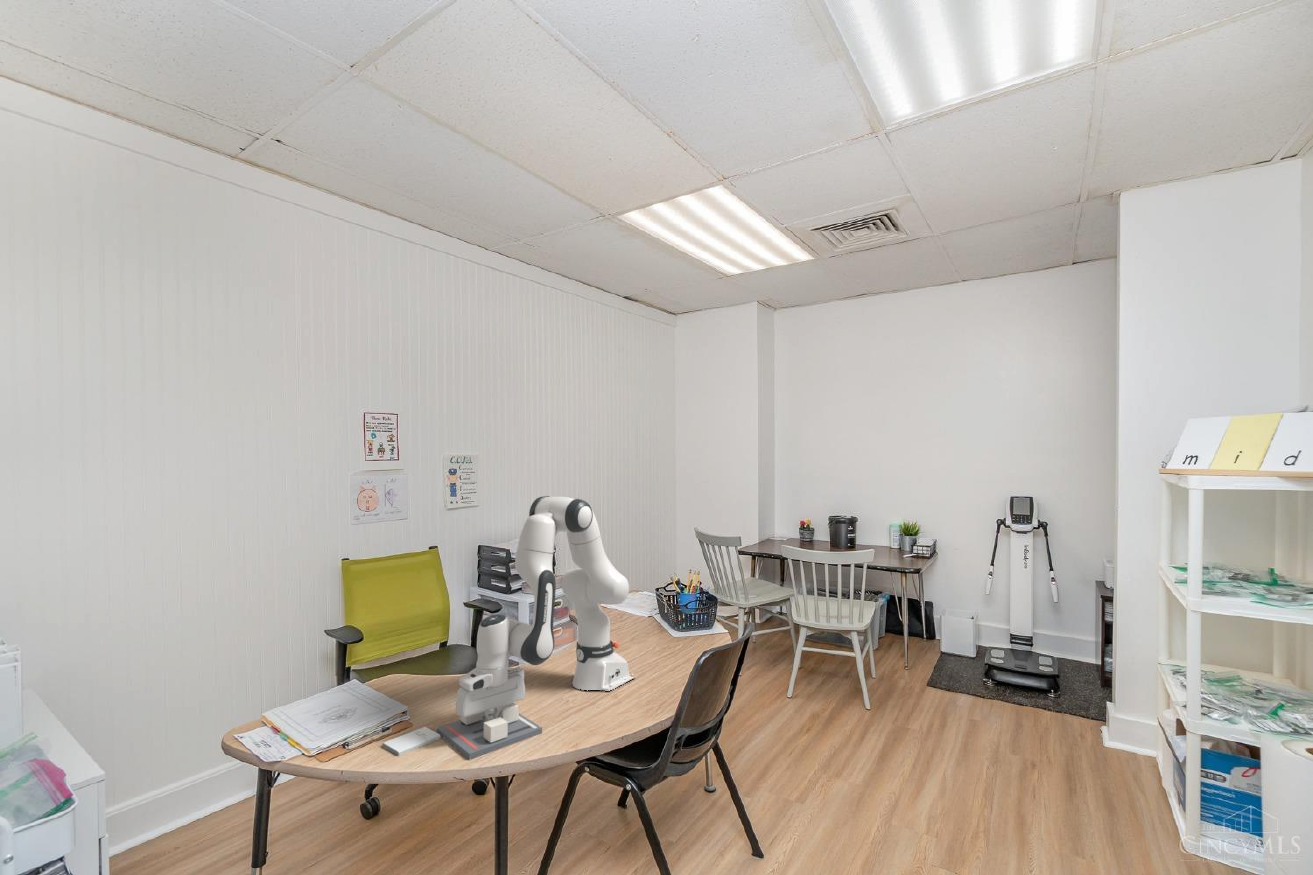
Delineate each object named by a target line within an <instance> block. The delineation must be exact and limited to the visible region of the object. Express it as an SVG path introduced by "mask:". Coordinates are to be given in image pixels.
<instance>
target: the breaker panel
mask: <svg viewBox="0 0 1313 875" xmlns="http://www.w3.org/2000/svg"><path fill="white" fill-rule="evenodd" d="M494 710H495V709H491V710H490V713H489V714H488V715H489V716H492V714H493V712H494ZM484 722H485V717H484V715H483V720H480V721H477V722H474V723H471V724H468V725H466V724H465V723H463V722H462V721H461V720H460V719H458V720H456V721H453V722H449V723H445V724H442V725H439V726H437V727H436V733H438V734H440V735H441V738H442V739H443V740H445V741H446V742H447V743H449V745H451V746H452V745H453V746H452V747H453V748H454V749H456V750H457V751H458V752H459V753H461V754H462V755H463V756H464V757H465V758H467V759H468V761H469V760H473V759H475V758H478V757H481V756H483V755H486V754H489V753H491V752H495V751H498V750H500V749H503V748H505V747H508V746H511V745H513V744H515V743H519V742H522V741H524V740H527V739H531V738H532V737H535V736H538V735H541V734H543V727H542V726H540V725H539V724H538V723H535V722H534V721H532V720H530V719H529V718H527V717H526V716H525V715H523V714H521V713H519V716H518V720H517V721H514V722H511V723H508V732H507V737H505V738H503V739H500V740H497V741H494V742H491V743H490V742H489V741H488V740H486V739H485V738H484V737H483V736H484Z"/></svg>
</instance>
